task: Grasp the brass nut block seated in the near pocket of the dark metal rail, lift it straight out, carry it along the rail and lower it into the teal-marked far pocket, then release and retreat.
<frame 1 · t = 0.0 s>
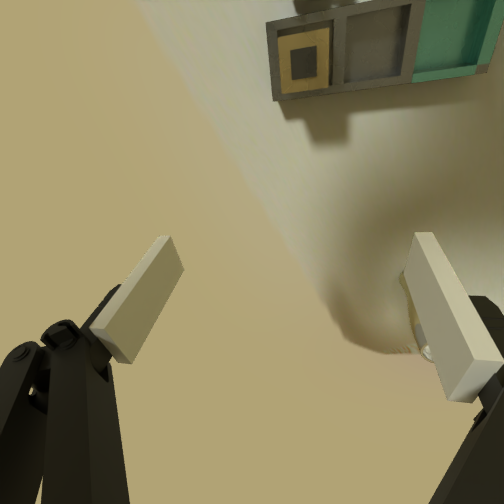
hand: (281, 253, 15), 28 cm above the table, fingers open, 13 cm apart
nut: (306, 57, 31), resting on rail
rail: (370, 45, 30), on the table
beer glass: (417, 276, 49), on the table
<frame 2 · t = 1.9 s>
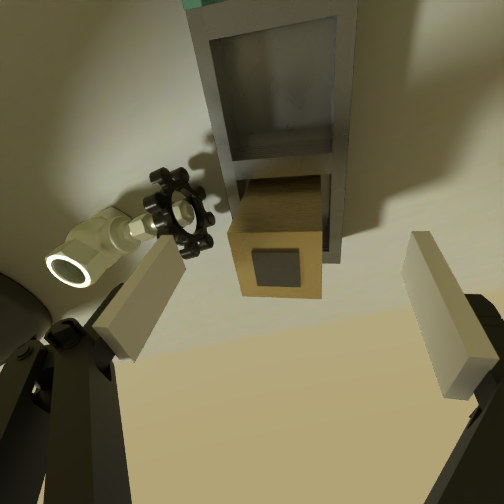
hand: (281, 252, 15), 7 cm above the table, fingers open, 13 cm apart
valve: (149, 210, 24), on the table, touching gripper
nut: (288, 200, 20), resting on rail
rail: (281, 90, 16), on the table
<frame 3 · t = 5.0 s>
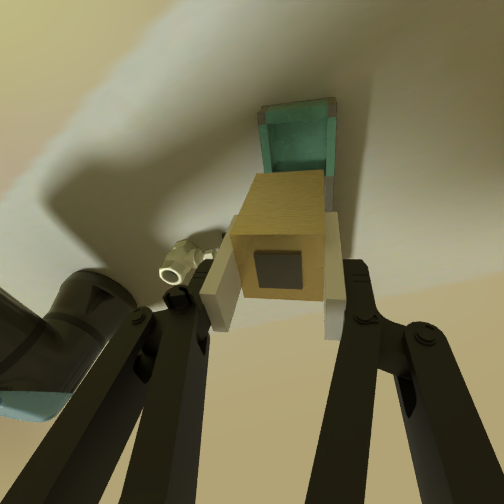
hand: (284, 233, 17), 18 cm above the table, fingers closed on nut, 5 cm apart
valve: (208, 243, 43), on the table
nut: (290, 201, 20), point 14 cm above the table, touching gripper
rail: (301, 198, 34), on the table
when the fingers open (6 cm above the table, at t = 7.2 s): nut drops 1 cm, resting on rail.
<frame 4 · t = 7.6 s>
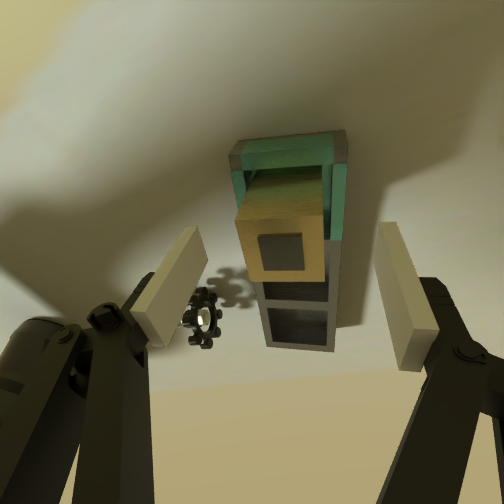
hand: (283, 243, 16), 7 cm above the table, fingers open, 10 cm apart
valve: (175, 298, 34), on the table
nut: (291, 192, 21), point 1 cm above the table, touching rail
rail: (296, 256, 26), on the table
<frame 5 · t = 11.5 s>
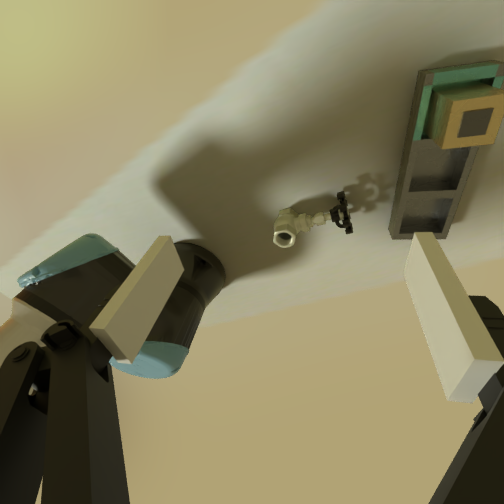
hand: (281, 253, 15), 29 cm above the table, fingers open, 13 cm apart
valve: (309, 210, 46), on the table
nut: (446, 106, 32), point 1 cm above the table, touching rail
rail: (430, 161, 37), on the table
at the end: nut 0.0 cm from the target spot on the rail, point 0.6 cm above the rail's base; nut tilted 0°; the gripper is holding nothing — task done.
